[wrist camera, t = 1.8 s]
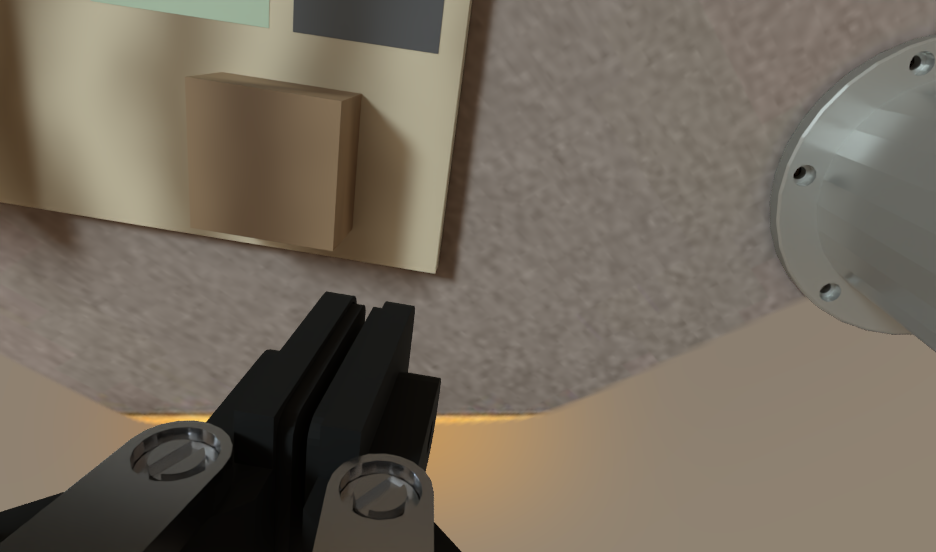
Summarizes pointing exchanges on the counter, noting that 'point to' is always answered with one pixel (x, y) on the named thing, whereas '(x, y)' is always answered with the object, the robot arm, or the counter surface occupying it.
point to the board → (238, 52)
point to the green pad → (207, 9)
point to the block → (271, 159)
